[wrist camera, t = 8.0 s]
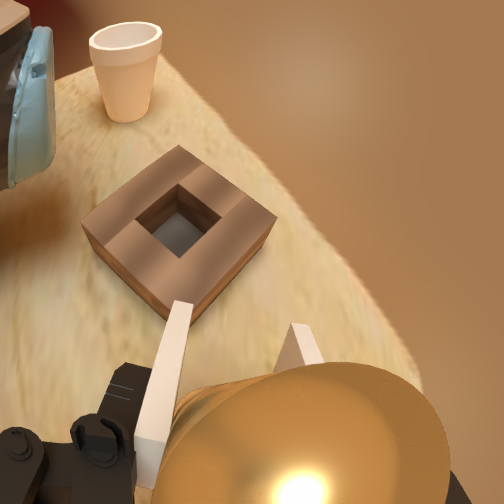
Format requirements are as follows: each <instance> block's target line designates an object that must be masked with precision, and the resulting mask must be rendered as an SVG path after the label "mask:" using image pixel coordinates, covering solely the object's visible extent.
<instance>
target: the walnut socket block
mask: <svg viewBox="0 0 504 504" xmlns="http://www.w3.org/2000/svg"><path fill="white" fill-rule="evenodd" d="M276 219H277V217H276V216H275V215H273V214H272V213H271V212H270V211H268V210H267V209H266V208H264V207H263V206H262V205H260V204H259V203H258V202H256V201H255V200H254V199H252V198H251V197H250V196H248V195H247V194H246V193H244V192H243V191H242V190H240V189H239V188H238V187H236V186H235V185H234V184H232V183H231V182H229V181H228V180H227V179H225V178H224V177H223V176H221V175H220V174H219V173H217V172H216V171H214V170H213V169H212V168H210V167H209V166H207V165H206V164H205V163H203V162H202V161H201V160H199V159H198V158H196V157H195V156H194V155H192V154H191V153H189V152H188V151H186V150H185V149H184V148H182V147H181V146H179V145H178V146H176V147H175V148H173V149H172V150H170V151H169V152H167V153H166V154H165V155H163V156H162V157H160V158H159V159H158V160H156V161H155V162H153V163H152V164H151V165H149V166H148V167H147V168H145V169H144V170H143V171H141V172H140V173H139V174H137V175H136V176H135V177H133V178H132V179H131V180H129V181H128V182H127V183H125V184H124V185H123V186H122V187H120V188H119V189H118V190H117V191H115V192H114V193H113V194H112V195H110V196H109V197H108V198H107V199H105V200H104V201H103V202H102V203H101V204H99V205H98V206H97V207H96V208H95V209H93V210H92V211H91V212H90V213H89V214H88V215H86V216H85V217H84V218H83V219H82V220H81V221H80V223H81V225H82V227H83V229H84V231H85V234H86V236H87V238H88V240H89V242H90V244H91V246H92V248H93V250H94V251H95V252H96V253H97V255H98V256H99V257H100V258H101V259H102V260H103V261H104V262H105V263H106V264H107V265H108V266H109V267H110V268H111V269H112V270H113V271H114V272H115V273H116V274H117V275H118V276H119V277H120V278H121V279H122V280H123V281H124V282H125V283H126V284H127V285H128V286H129V287H130V288H131V289H132V290H133V291H134V292H135V293H136V294H138V295H139V296H140V297H141V298H142V299H143V300H144V301H145V302H146V303H147V304H148V305H149V306H150V307H151V308H152V309H154V310H155V311H156V312H157V313H158V314H159V315H160V316H161V317H162V318H163V319H165V320H166V321H168V318H169V315H170V312H171V309H172V306H173V303H174V300H176V301H181V302H185V303H190V304H194V305H193V310H192V315H191V321H190V326H189V328H190V327H191V326H192V324H193V323H194V322H195V321H196V320H197V319H198V318H199V317H200V316H201V314H202V313H203V312H204V311H205V310H206V309H207V308H208V307H209V305H210V304H211V303H212V302H213V301H214V300H215V299H216V298H217V297H218V295H219V294H220V293H221V292H222V291H223V290H224V289H225V288H226V286H227V285H228V284H229V283H230V282H231V281H232V280H233V279H234V277H235V276H236V275H237V274H238V273H239V272H240V271H241V270H242V269H243V267H244V266H245V265H246V264H247V263H248V262H249V261H250V260H251V258H252V257H253V256H254V255H255V254H256V253H257V252H258V251H259V249H260V248H261V247H262V246H263V244H264V242H265V240H266V238H267V236H268V235H269V233H270V231H271V229H272V227H273V225H274V223H275V221H276Z"/></svg>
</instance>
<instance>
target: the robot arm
mask: <svg viewBox="0 0 504 504" xmlns="http://www.w3.org/2000/svg"><path fill="white" fill-rule="evenodd" d="M29 13H30V12H29V8H28V7H25V6H23V5H21V4H19V3H17V2H15V1H13V0H0V191H2V190H4V189H6V188H9V189H12V188H14V187H15V185H16V184H17V183H19V182H21V181H24V180H26V179H28V178H30V177H32V176H34V175H37V174H39V173H41V172H43V171H44V170H45V169H47V168H48V166H49V165H50V164H51V162H52V160H53V158H54V155H55V151H56V120H55V91H54V51H53V41H52V37H53V34H52V30H51V29H50V28H49V27H41V26H38V27H36V28H35V29H34V30H32V28H31V22H30V15H29ZM193 305H194V304H190V303H185V302H181V301H176V300H174V303H173V306H172V309H171V312H170V315H169V318H168V321H167V324H166V327H165V330H164V333H163V337H162V340H161V343H160V346H159V349H158V353H157V356H156V359H155V362H154V366H153V369H151V368H146V367H142V366H138V365H134V364H130V363H126V362H125V363H124V364H123V365H122V366H120V367H119V368H118V369H117V370H115V372H114V374H113V376H112V379H111V381H110V385H109V386H108V388H107V390H106V394H105V395H104V398H103V400H102V402H101V405H100V407H99V410H98V412H97V414H88V415H85V416H82V417H80V418H79V419H77V420H76V421H75V422H74V423H73V425H72V427H71V429H70V434H71V437H72V441H73V443H52V442H43V441H41V440H40V439H39V437H38V436H37V435H36V434H35V433H33V432H32V431H31V430H29V429H26V428H23V427H11V428H8V429H6V430H4V431H3V432H2V433H1V434H0V504H135V501H134V491H135V486H140V487H144V488H149V489H153V490H154V486H155V482H156V478H157V475H158V471H159V467H160V464H161V460H162V456H163V453H164V449H165V445H166V442H167V439H168V436H169V433H170V429H171V426H172V422H173V418H174V412H175V406H176V400H177V394H178V388H179V382H180V377H181V371H182V366H183V360H184V355H185V349H186V343H187V337H188V332H189V326H190V321H191V315H192V310H193ZM319 363H324V361H323V359H322V356H321V354H320V351H319V349H318V347H317V344H316V342H315V339H314V337H313V335H312V332H311V330H310V328H309V325H304V324H298V323H291V324H290V327H289V330H288V333H287V336H286V338H285V341H284V344H283V347H282V349H281V352H280V355H279V357H278V360H277V363H276V365H275V368H274V371H273V373H276V372H280V371H284V370H288V369H293V368H297V367H302V366H306V365H310V364H319ZM445 504H472V503H471V501H470V500H469V498H468V496H467V495H466V493H465V491H464V490H463V488H462V486H461V485H460V483H459V481H458V480H457V478H456V476H455V475H454V474H453V472H451V470H450V481H449V488H448V493H447V497H446V501H445Z"/></svg>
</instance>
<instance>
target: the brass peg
mask: <svg viewBox="0 0 504 504" xmlns="http://www.w3.org/2000/svg"><path fill="white" fill-rule="evenodd" d="M449 481H450V453H449V446H448V441H447V437H446V434H445V431H444V428H443V426H442V423H441V421H440V419H439V417H438V415H437V413H436V412H435V410H434V408H433V407H432V405H431V404H430V403H429V402H428V400H427V399H426V398H425V397H424V395H422V394H421V393H420V392H419V391H418V390H417V389H416V388H415V387H414V386H413V385H411V384H410V383H408V382H407V381H405V380H404V379H402V378H401V377H399V376H397V375H395V374H392V373H390V372H388V371H386V370H383V369H380V368H376V367H373V366H370V365H364V364H357V363H351V362H328V363H319V364H310V365H306V366H302V367H297V368H293V369H288V370H284V371H280V372H276V373H272V374H268V375H264V376H259V377H255V378H250V379H246V380H241V381H236V382H231V383H226V384H221V385H215V386H210V387H204V388H200V389H196V390H194V391H192V392H190V393H188V394H187V395H186V396H185V397H184V398H183V399H182V400H181V401H180V402H179V404H178V406H177V408H176V410H175V413H174V418H173V422H172V426H171V429H170V433H169V436H168V439H167V442H166V445H165V449H164V453H163V456H162V460H161V464H160V467H159V471H158V475H157V478H156V482H155V486H154V490H153V494H152V499H151V504H445V501H446V497H447V493H448V488H449Z"/></svg>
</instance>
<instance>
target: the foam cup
mask: <svg viewBox="0 0 504 504" xmlns="http://www.w3.org/2000/svg"><path fill="white" fill-rule="evenodd" d="M161 45H162V31H161V29H160V27H158V26H156V25H154V24H151V23H145V22H127V23H120V24H116V25H112V26H109V27H106V28H104V29H102V30H100V31H98V32H96V33H95V34H94V35H93V36H92V37H91V38H90V39H89V48H90V59H91V61H93V65H94V69H95V73H96V76H97V80H98V83H99V87H100V91H101V94H102V97H103V101H104V104H105V108H106V111H107V114H108V117H109V118H110V119H112V120H113V121H115V122H120V123H126V122H132V121H135V120H138V119H140V118H141V117H143V116H144V115H145V114H146V113H147V111H148V108H149V103H150V97H151V91H152V85H153V79H154V74H155V68H156V63H157V58H158V54H159V50H160V48H161Z"/></svg>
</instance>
